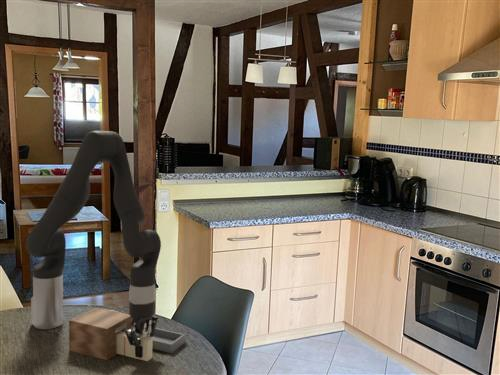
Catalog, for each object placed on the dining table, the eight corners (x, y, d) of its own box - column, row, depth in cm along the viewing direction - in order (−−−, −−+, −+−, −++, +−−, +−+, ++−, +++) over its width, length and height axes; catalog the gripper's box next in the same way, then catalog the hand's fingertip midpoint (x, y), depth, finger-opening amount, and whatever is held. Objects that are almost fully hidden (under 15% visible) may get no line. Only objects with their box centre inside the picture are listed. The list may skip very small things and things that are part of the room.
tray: (126, 342, 154) (126, 334, 154) (142, 332, 162) (142, 324, 162) (171, 353, 148) (171, 344, 148) (185, 342, 156) (185, 334, 155)
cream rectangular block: (113, 352, 147) (113, 333, 146) (119, 349, 149) (119, 330, 148) (147, 361, 142) (147, 341, 142) (152, 357, 145) (152, 338, 144)
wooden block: (69, 350, 147) (69, 320, 146) (95, 335, 158) (95, 307, 157) (108, 360, 142) (108, 329, 141) (133, 344, 153) (133, 315, 152)
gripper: (145, 289, 150) (144, 343, 152) (116, 303, 137) (116, 362, 139) (166, 293, 147) (165, 348, 149) (139, 308, 135) (138, 367, 137)
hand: (141, 354), depth 144 cm, fingers closed on cream rectangular block, 2 cm apart
